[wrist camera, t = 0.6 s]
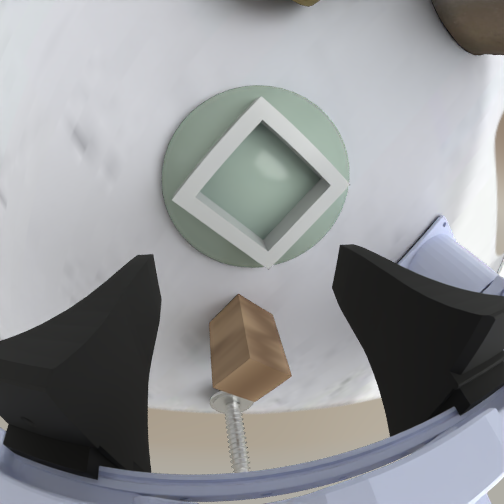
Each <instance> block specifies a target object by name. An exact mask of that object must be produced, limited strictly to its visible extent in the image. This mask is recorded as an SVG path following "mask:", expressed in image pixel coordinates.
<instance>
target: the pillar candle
mask: <svg viewBox="0 0 504 504" xmlns="http://www.w3.org/2000/svg"><path fill="white" fill-rule="evenodd" d="M432 2H433V5H434V7H435V10H436V11H437V13H438V15H439V17H440V19H441V21H442V22H443V24H444V26H445V27H446V28H447V30H448V31H449V32H450V34H451V35H452V36H453V38H454V39H455V40H456V42H457V43H458V44H459V45H460V46H461V47H462V48H464V49H465V50H466V51H468V52H469V53H472V54H474V55H483V54H493V55H504V0H432Z"/></svg>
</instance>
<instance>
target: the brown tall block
mask: <svg viewBox="0 0 504 504" xmlns="http://www.w3.org/2000/svg"><path fill="white" fill-rule="evenodd" d="M209 329H210V350H211V368H212V384H213V388H215V389H218V390H221V391H223V392H226V393H229V394H232V395H235V396H238V397H241V398H244V399H247V400H250V401H253V402H255V401H257V400H258V399H260V398H261V397H263V396H264V395H266V394H267V393H269V392H270V391H272V390H273V389H275V388H276V387H277V386H279V385H280V384H282V383H283V382H285V381H286V380H287V379H289V378H290V377H291V376H292V375H291V372H290V369H289V365H288V362H287V359H286V356H285V353H284V350H283V346H282V343H281V340H280V337H279V334H278V330H277V327H276V324H275V321H274V318H273V315H272V314H271V313H269V312H267V311H266V310H264V309H262V308H261V307H259V306H257V305H256V304H254V303H252V302H251V301H249V300H248V299H246V298H244V297H243V296H241V295H240V294H238V295H237V296H236V297H235V298H234V299H233V300H232V301H231V302H230V303H229V304H228V305H227V306H226V307H225V308H224V309H223V310H222V311H221V312H220V313H219V314H218V315H217V316H216V317H215V318H214V319H213V320H212V321H211V322H210V323H209Z"/></svg>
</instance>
